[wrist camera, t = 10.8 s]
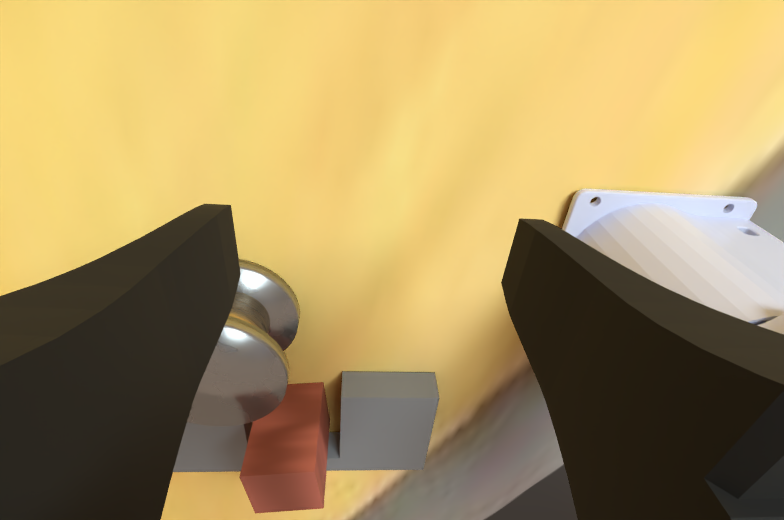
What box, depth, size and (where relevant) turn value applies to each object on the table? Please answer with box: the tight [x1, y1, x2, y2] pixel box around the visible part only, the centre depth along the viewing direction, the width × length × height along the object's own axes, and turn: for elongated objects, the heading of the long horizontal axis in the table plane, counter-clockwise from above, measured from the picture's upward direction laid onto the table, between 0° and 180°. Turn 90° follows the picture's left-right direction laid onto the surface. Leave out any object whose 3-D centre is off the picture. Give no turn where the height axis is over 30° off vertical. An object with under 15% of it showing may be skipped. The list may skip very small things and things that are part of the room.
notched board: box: [173, 371, 439, 472], centre depth 28 cm, size 18×8×2 cm, turn 85°
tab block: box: [240, 382, 330, 513], centre depth 26 cm, size 4×4×6 cm
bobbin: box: [187, 259, 300, 426], centre depth 22 cm, size 7×7×5 cm
